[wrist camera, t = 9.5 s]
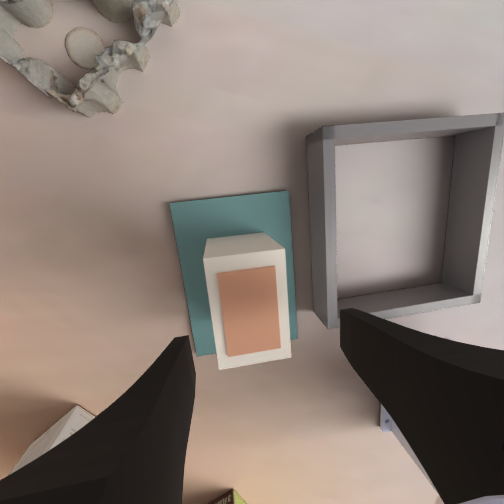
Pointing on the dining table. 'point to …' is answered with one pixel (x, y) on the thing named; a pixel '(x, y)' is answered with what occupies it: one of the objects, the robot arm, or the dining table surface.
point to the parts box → (247, 299)
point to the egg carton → (85, 49)
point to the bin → (458, 222)
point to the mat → (222, 225)
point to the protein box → (229, 499)
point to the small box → (55, 435)
